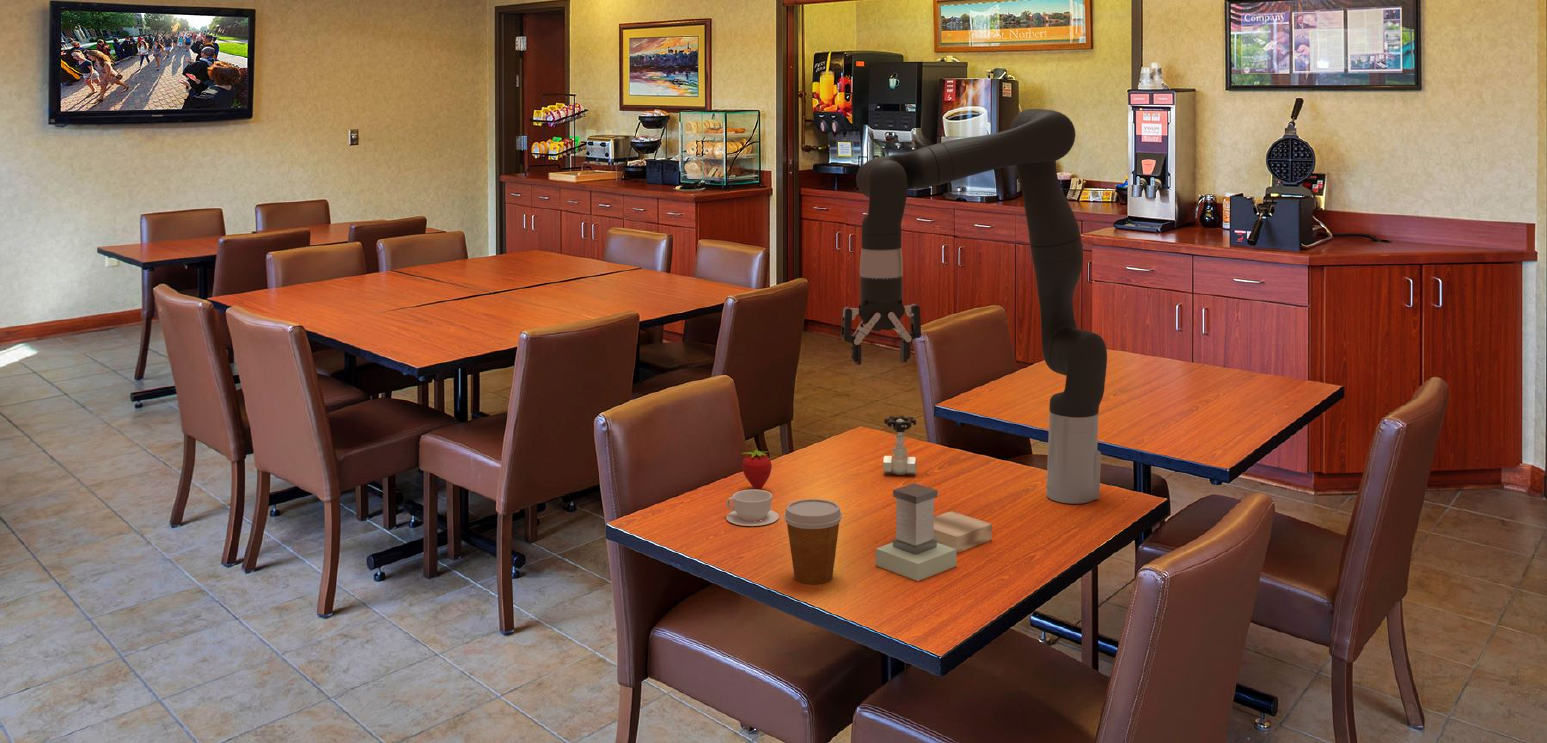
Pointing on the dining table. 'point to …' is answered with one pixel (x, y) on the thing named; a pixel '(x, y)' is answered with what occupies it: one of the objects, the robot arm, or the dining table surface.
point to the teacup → (751, 508)
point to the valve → (899, 448)
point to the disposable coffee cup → (813, 538)
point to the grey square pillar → (915, 518)
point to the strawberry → (756, 468)
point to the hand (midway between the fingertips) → (880, 363)
